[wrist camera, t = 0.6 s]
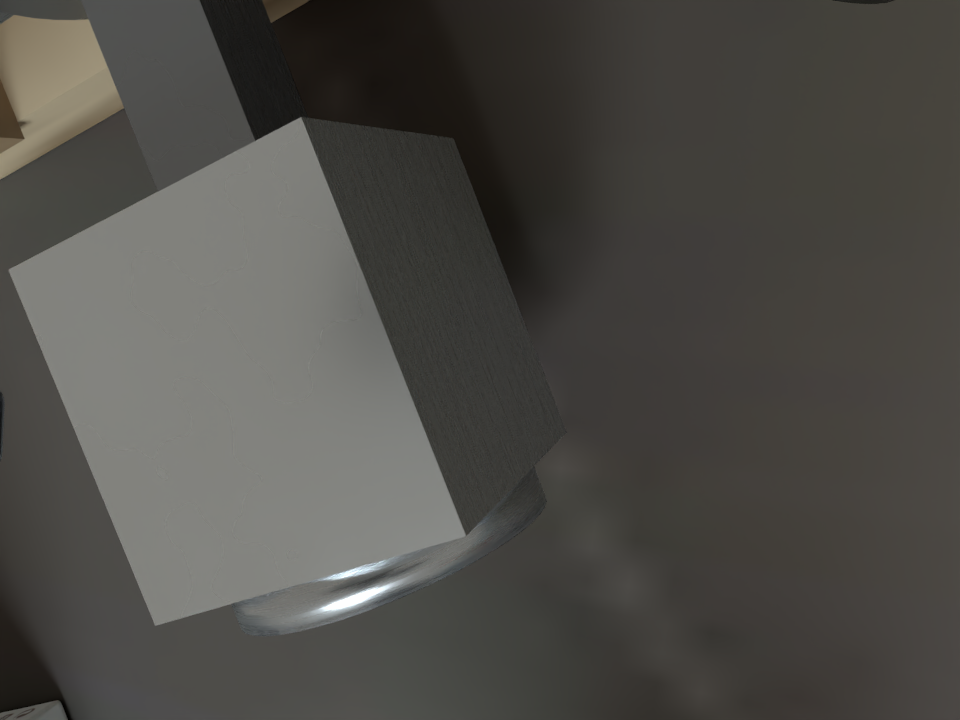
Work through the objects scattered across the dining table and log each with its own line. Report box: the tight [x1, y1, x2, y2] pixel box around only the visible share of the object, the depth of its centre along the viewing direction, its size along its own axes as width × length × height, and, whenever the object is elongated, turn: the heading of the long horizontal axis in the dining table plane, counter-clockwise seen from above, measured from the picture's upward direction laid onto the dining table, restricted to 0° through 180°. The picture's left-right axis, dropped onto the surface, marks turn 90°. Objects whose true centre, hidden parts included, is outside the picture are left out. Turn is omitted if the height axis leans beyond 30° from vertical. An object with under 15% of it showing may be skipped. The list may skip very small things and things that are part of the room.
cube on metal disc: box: [9, 117, 567, 636], centre depth 19 cm, size 8×7×7 cm
